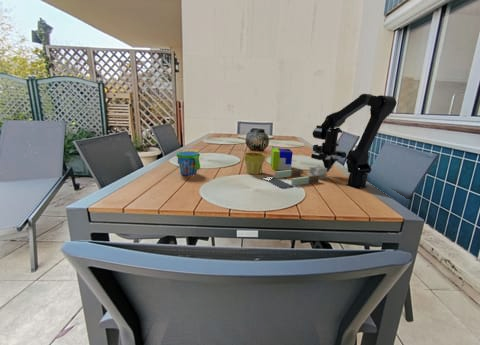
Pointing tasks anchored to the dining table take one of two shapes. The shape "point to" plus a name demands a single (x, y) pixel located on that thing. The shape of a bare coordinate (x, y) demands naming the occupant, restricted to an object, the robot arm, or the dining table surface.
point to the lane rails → (297, 180)
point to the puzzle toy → (281, 159)
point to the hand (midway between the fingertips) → (326, 171)
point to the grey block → (317, 171)
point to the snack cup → (188, 162)
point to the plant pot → (254, 162)
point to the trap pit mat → (279, 183)
